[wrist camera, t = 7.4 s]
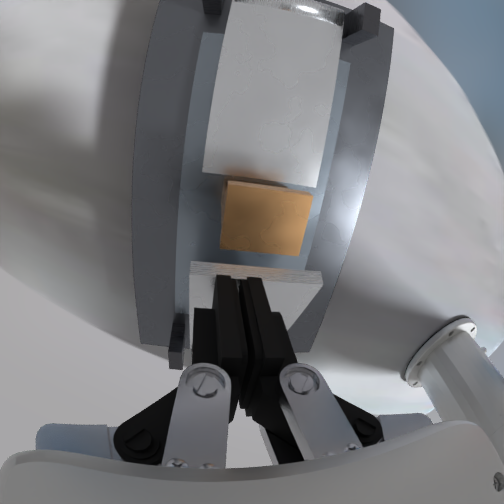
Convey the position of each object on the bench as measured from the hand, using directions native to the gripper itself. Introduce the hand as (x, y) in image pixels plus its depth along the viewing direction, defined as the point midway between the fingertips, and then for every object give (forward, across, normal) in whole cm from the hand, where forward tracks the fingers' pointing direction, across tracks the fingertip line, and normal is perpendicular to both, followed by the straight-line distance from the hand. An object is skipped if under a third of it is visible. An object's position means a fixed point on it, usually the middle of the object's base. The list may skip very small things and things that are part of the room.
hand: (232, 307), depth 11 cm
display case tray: (+9, -1, -3) cm, 9 cm away
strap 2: (+2, -1, +2) cm, 3 cm away
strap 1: (+4, -1, -9) cm, 10 cm away
